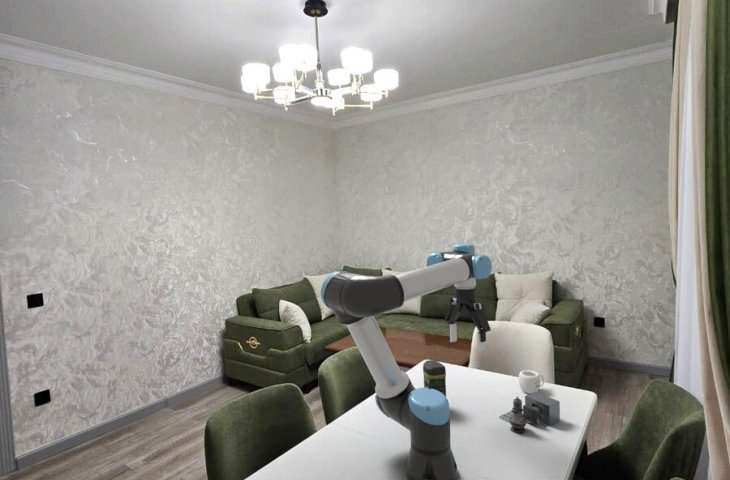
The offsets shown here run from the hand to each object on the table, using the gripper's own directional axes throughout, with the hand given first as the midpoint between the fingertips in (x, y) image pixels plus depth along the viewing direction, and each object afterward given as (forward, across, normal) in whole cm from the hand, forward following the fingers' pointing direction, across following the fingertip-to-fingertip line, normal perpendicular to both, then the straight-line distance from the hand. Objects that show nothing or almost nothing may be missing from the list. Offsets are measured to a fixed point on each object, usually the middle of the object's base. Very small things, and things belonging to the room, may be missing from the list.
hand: (466, 345), depth 146 cm
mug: (+29, +4, -42) cm, 51 cm away
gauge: (+29, -11, -19) cm, 36 cm away
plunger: (+28, -10, -21) cm, 36 cm away
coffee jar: (+29, +16, +2) cm, 33 cm away
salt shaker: (+29, -13, -10) cm, 33 cm away
